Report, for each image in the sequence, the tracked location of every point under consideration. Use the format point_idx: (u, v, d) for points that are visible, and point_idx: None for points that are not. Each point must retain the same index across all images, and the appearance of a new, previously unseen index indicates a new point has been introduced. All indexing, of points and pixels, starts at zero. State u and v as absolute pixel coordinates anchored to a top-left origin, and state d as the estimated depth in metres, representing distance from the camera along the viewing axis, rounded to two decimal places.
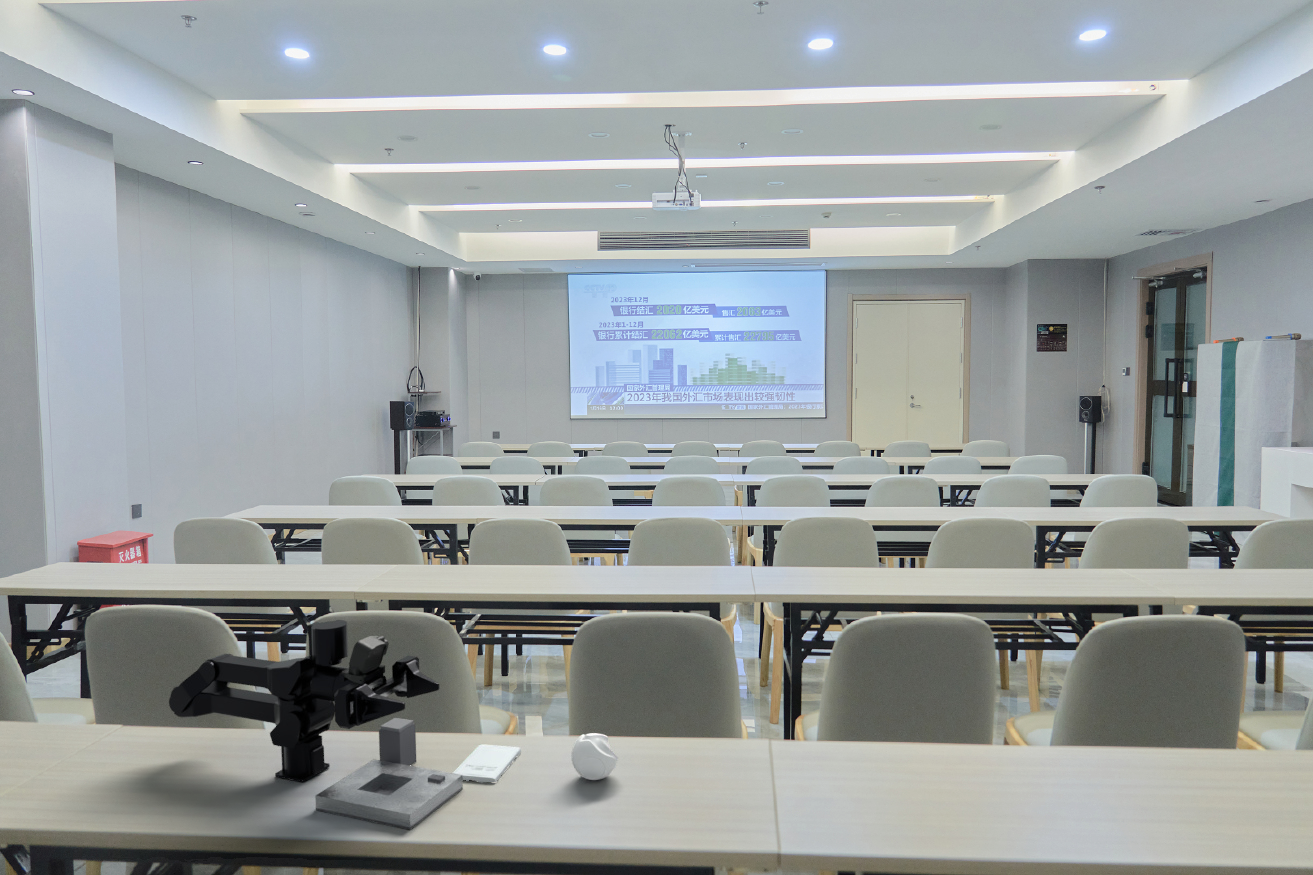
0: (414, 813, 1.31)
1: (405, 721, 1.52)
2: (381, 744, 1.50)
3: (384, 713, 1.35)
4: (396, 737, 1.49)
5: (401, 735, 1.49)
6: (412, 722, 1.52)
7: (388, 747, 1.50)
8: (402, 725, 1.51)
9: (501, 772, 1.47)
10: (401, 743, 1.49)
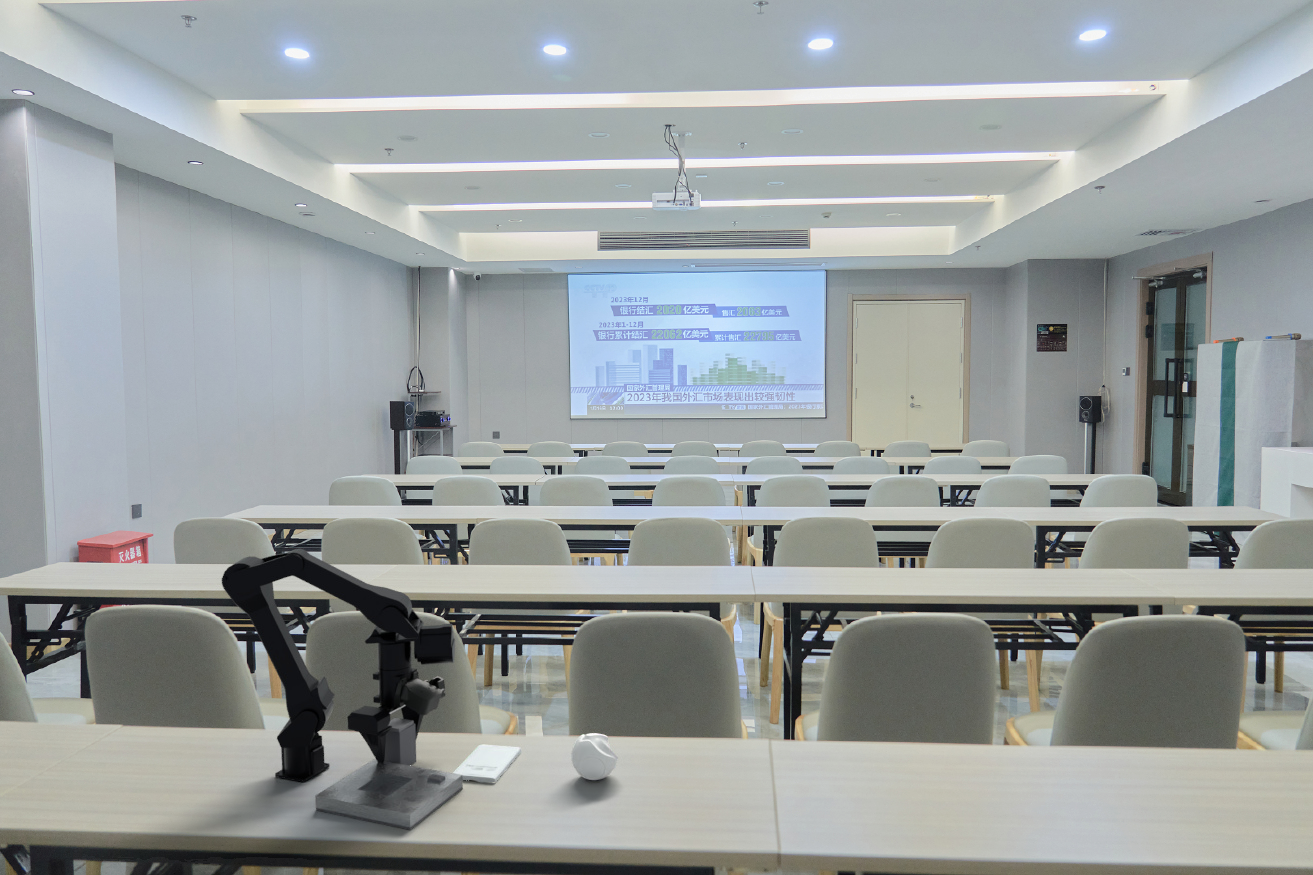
0: (414, 813, 1.31)
1: (405, 721, 1.52)
2: None
3: (370, 746, 1.47)
4: (396, 737, 1.49)
5: (401, 735, 1.49)
6: (412, 722, 1.52)
7: (388, 748, 1.50)
8: (402, 725, 1.51)
9: (501, 772, 1.47)
10: (401, 743, 1.49)
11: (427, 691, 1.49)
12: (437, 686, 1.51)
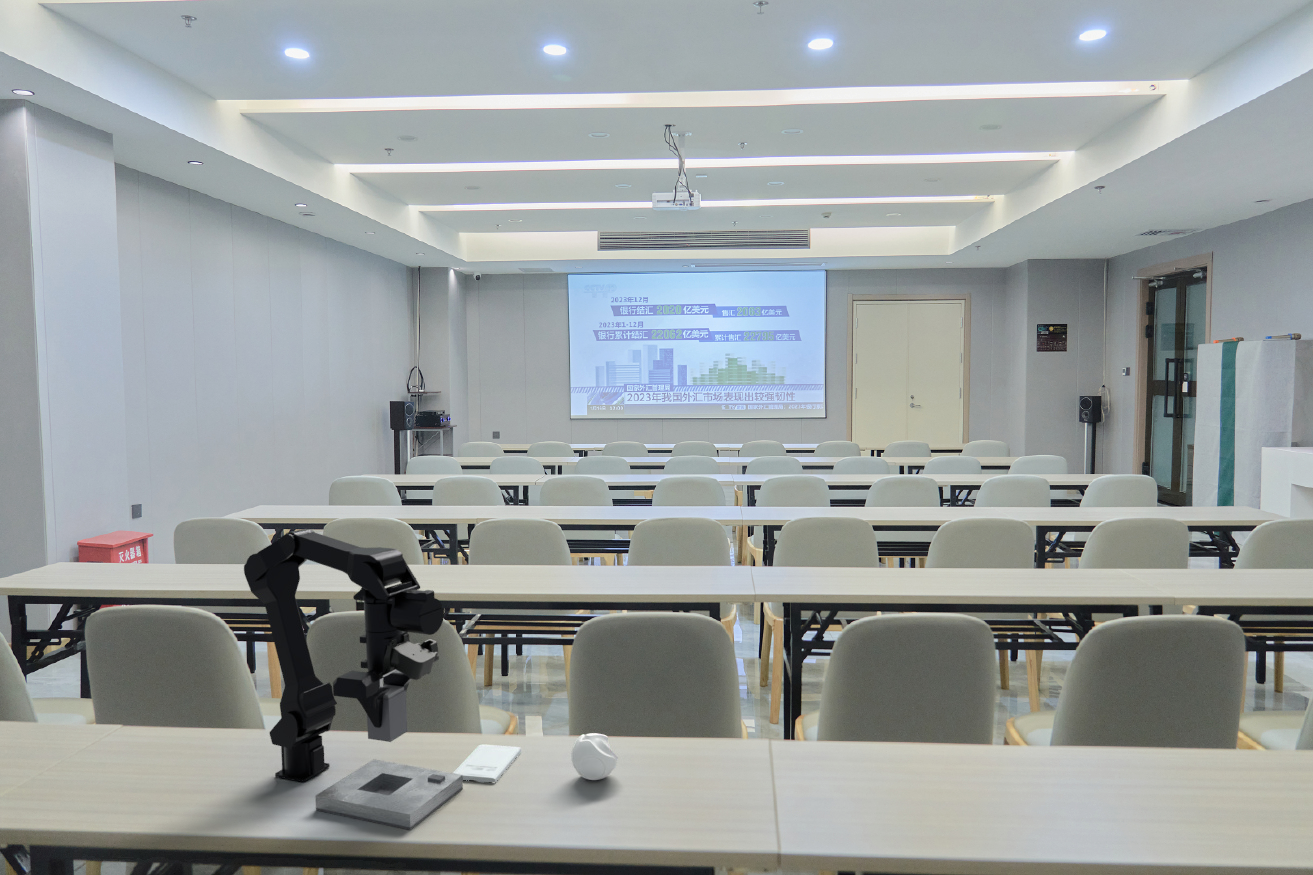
0: (414, 813, 1.31)
1: (395, 687, 1.41)
2: None
3: (366, 710, 1.37)
4: (385, 704, 1.38)
5: (390, 702, 1.38)
6: (402, 688, 1.41)
7: None
8: (391, 691, 1.39)
9: (501, 772, 1.47)
10: (390, 711, 1.38)
11: (419, 654, 1.37)
12: (430, 649, 1.40)
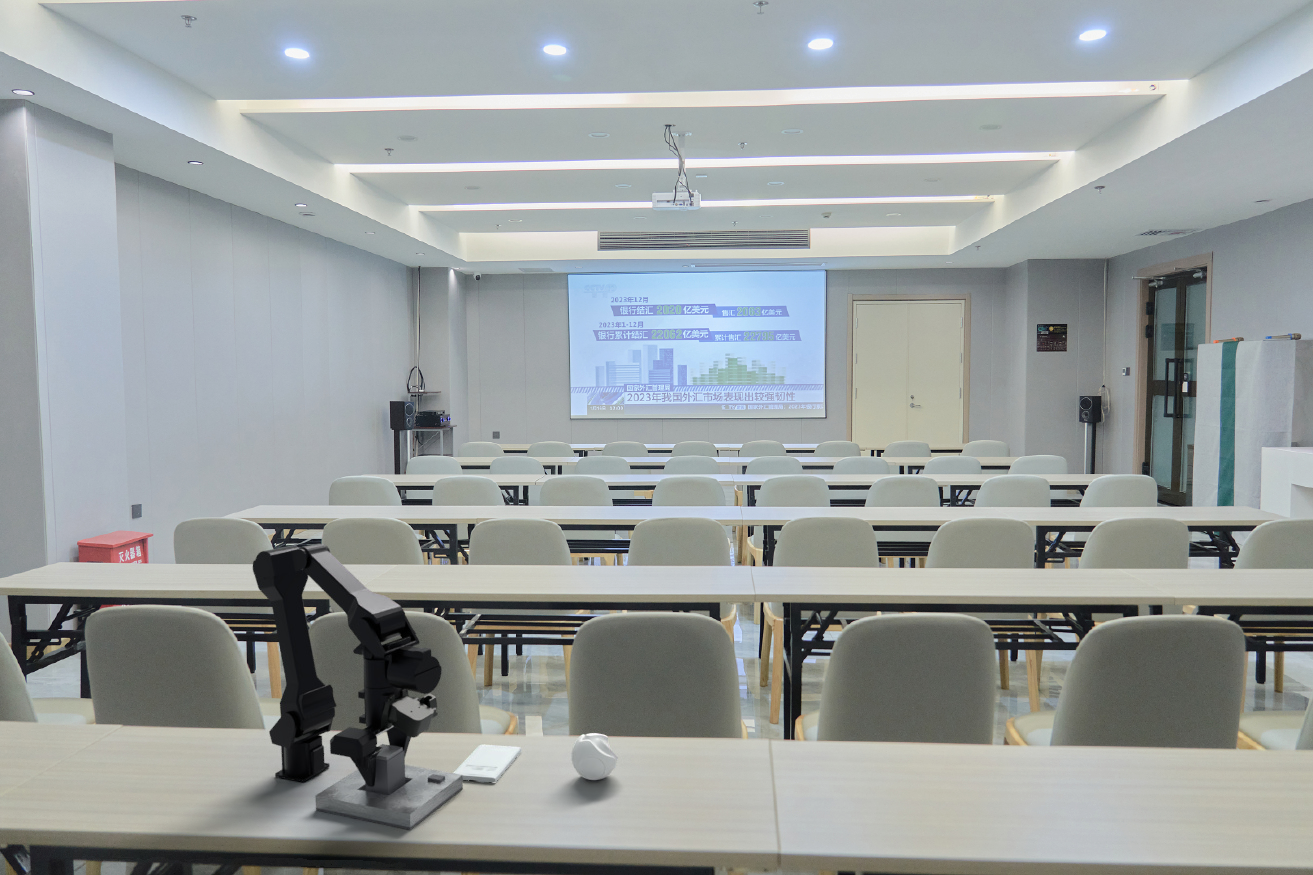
0: (414, 813, 1.31)
1: (393, 748, 1.40)
2: None
3: (359, 769, 1.35)
4: (384, 766, 1.37)
5: (388, 764, 1.37)
6: (401, 749, 1.40)
7: None
8: (390, 753, 1.38)
9: (501, 772, 1.47)
10: (388, 773, 1.37)
11: (417, 711, 1.36)
12: (428, 705, 1.38)
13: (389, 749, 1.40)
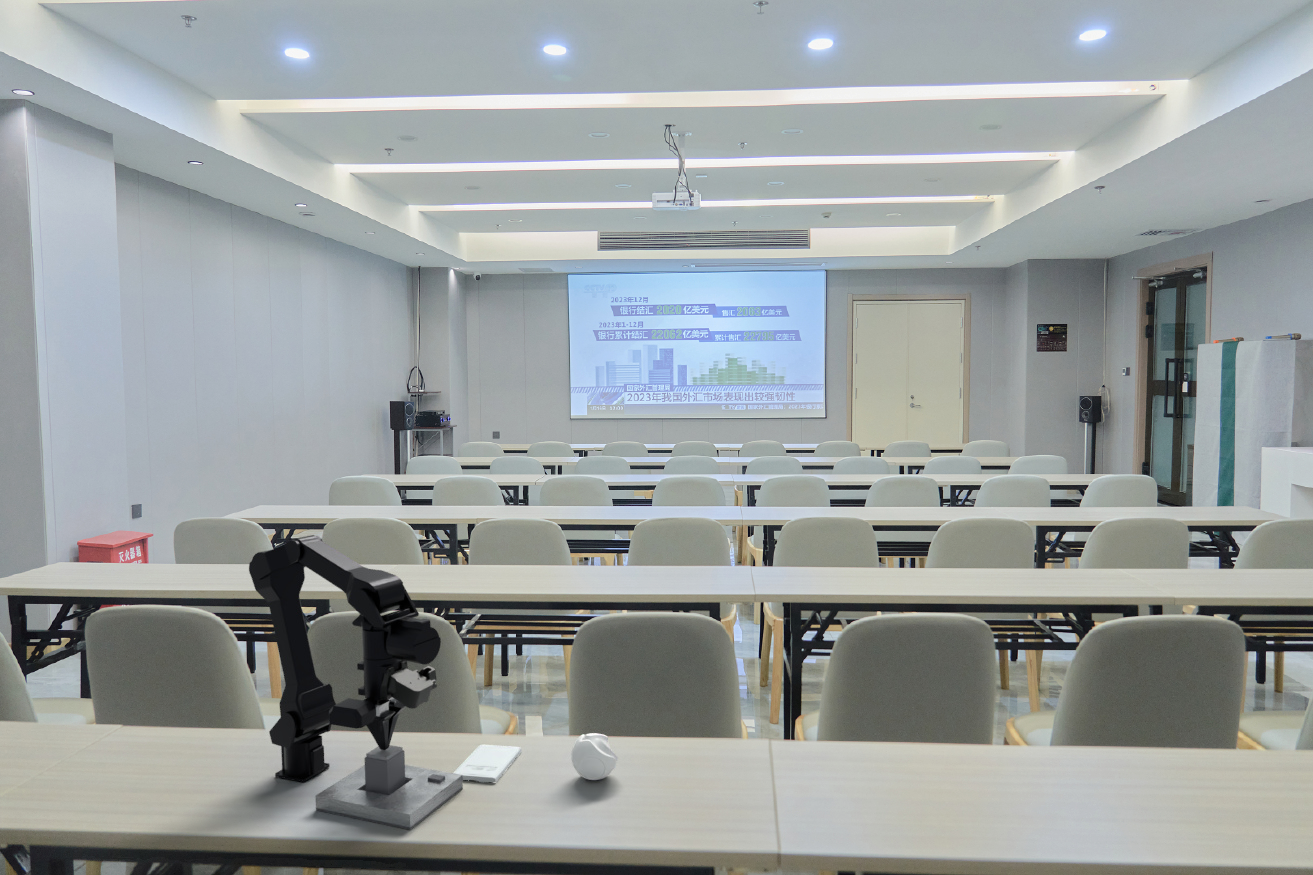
0: (414, 813, 1.31)
1: (393, 748, 1.40)
2: (367, 773, 1.38)
3: (372, 732, 1.38)
4: (384, 766, 1.37)
5: (388, 764, 1.37)
6: (401, 749, 1.40)
7: (374, 777, 1.37)
8: (390, 753, 1.38)
9: (501, 772, 1.47)
10: (388, 773, 1.37)
11: (417, 682, 1.36)
12: (428, 677, 1.38)
13: (389, 749, 1.40)
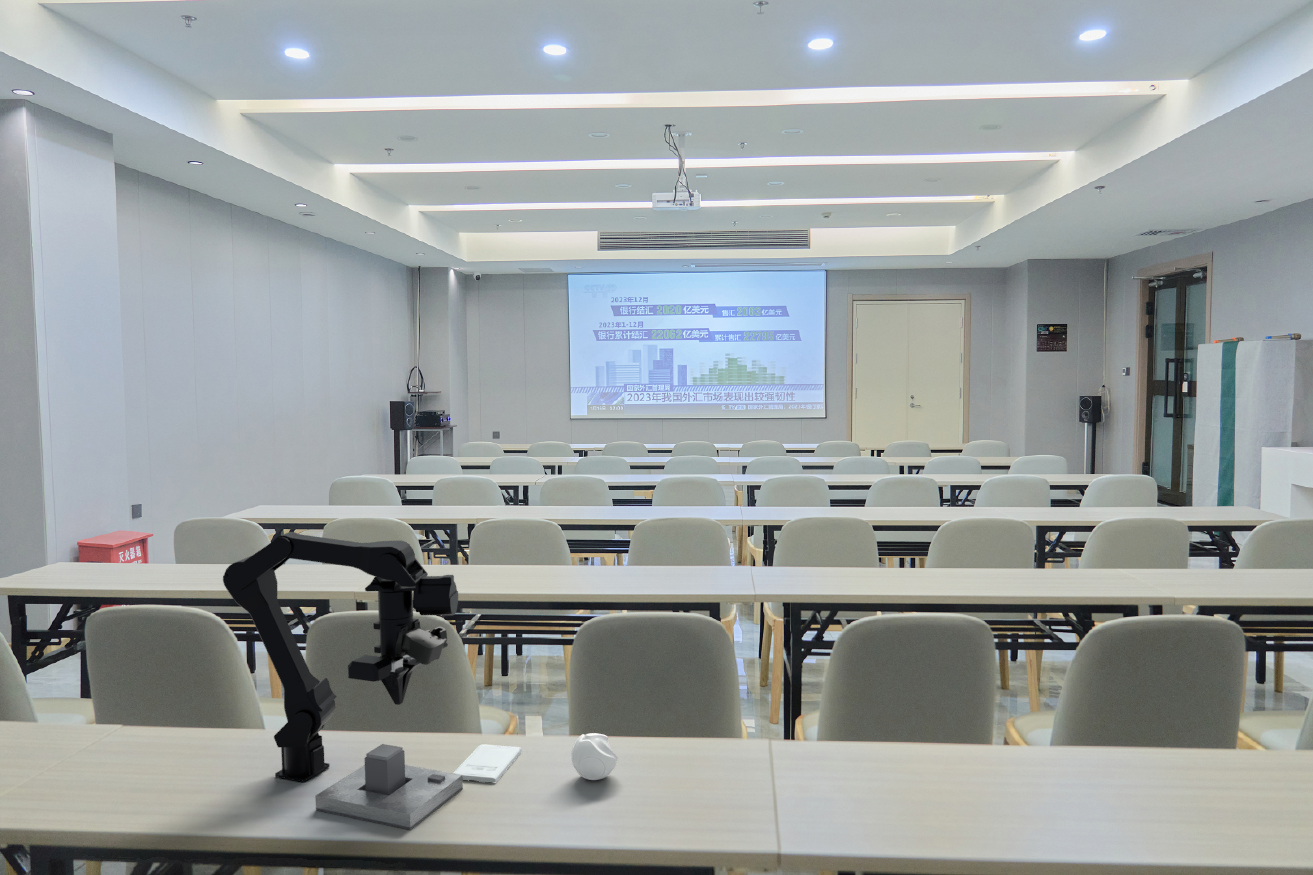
0: (414, 813, 1.31)
1: (393, 748, 1.40)
2: (367, 773, 1.38)
3: (387, 688, 1.48)
4: (384, 766, 1.37)
5: (388, 764, 1.37)
6: (401, 749, 1.40)
7: (374, 777, 1.37)
8: (390, 753, 1.38)
9: (502, 772, 1.47)
10: (388, 773, 1.37)
11: (429, 640, 1.46)
12: (439, 636, 1.48)
13: (389, 749, 1.40)
